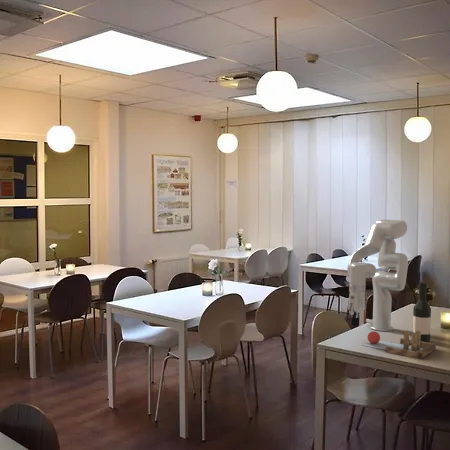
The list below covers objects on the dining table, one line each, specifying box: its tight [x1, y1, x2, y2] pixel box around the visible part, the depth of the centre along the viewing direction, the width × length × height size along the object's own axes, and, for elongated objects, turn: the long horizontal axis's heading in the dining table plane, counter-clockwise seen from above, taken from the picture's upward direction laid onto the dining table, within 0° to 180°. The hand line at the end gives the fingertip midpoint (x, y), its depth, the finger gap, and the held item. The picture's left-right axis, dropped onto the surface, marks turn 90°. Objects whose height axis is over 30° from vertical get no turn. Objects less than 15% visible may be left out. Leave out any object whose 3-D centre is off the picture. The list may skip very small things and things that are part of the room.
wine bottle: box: [412, 280, 432, 343], centre depth 273 cm, size 8×8×30 cm
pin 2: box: [415, 331, 421, 351], centre depth 256 cm, size 2×2×9 cm
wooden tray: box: [384, 337, 437, 360], centre depth 255 cm, size 16×21×3 cm
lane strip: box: [362, 340, 423, 352], centre depth 260 cm, size 28×14×1 cm, turn 52°
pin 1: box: [410, 332, 417, 352], centre depth 252 cm, size 2×2×9 cm
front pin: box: [402, 329, 410, 350], centre depth 256 cm, size 2×2×9 cm
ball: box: [367, 330, 381, 344], centre depth 266 cm, size 6×6×6 cm
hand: (355, 325), depth 271 cm, fingers closed
